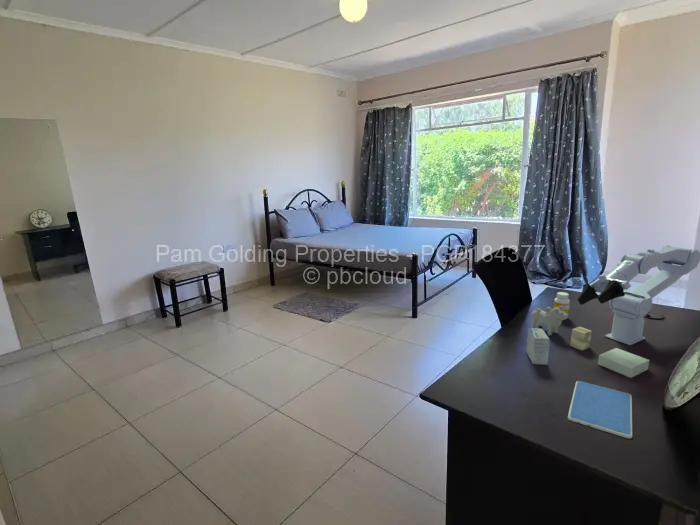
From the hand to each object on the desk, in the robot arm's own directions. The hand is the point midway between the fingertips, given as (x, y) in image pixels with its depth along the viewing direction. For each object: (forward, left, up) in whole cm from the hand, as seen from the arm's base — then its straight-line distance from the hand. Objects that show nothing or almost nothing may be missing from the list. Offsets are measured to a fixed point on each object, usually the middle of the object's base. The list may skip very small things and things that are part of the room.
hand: (589, 301), depth 117 cm
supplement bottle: (-21, -22, -17) cm, 35 cm away
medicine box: (+16, -5, -17) cm, 24 cm away
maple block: (-3, -3, -17) cm, 18 cm away
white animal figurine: (-5, -16, -17) cm, 24 cm away
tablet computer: (+24, +19, -18) cm, 36 cm away
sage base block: (-1, +11, -17) cm, 21 cm away
